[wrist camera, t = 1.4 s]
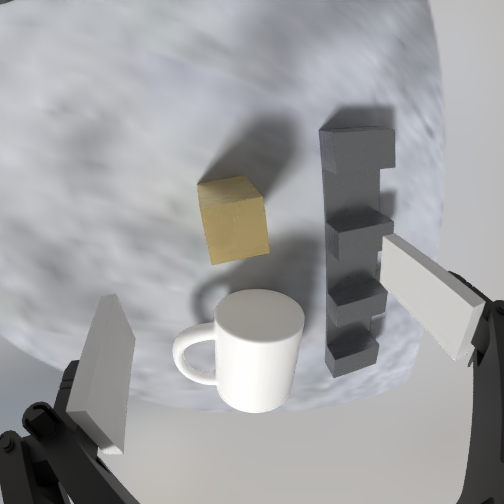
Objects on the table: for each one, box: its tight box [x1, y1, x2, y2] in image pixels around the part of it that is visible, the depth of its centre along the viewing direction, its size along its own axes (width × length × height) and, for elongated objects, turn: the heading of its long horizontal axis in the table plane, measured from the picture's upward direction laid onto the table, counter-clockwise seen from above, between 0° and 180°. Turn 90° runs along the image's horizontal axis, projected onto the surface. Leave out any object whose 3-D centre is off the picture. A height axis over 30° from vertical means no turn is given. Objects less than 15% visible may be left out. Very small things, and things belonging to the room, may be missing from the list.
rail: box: [319, 127, 395, 378], centre depth 30 cm, size 28×6×3 cm, turn 8°
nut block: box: [197, 175, 270, 265], centre depth 23 cm, size 4×4×7 cm
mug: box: [173, 289, 305, 413], centre depth 29 cm, size 12×10×8 cm
